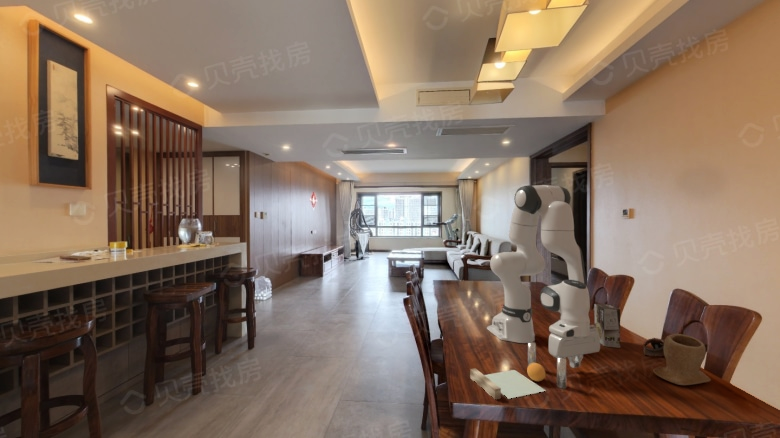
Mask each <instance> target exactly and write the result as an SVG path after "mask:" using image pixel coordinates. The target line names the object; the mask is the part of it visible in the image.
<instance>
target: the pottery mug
mask: <svg viewBox="0 0 780 438" xmlns="http://www.w3.org/2000/svg"><path fill="white" fill-rule="evenodd" d="M664 341H665V339H662V338H658V337H652V338H648V339H646V340H645V341H644V342H643V344H642V345H643V350H642V351H643V354H645V355H647V356H650V357H651V356H652V357H655V356H656V357H659V356H661V357H665V356H664V349H663V348H664ZM649 344H650V345H651V347H652V348H649V347H647V346H648V345H649ZM645 355H644V356H645Z"/></svg>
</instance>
